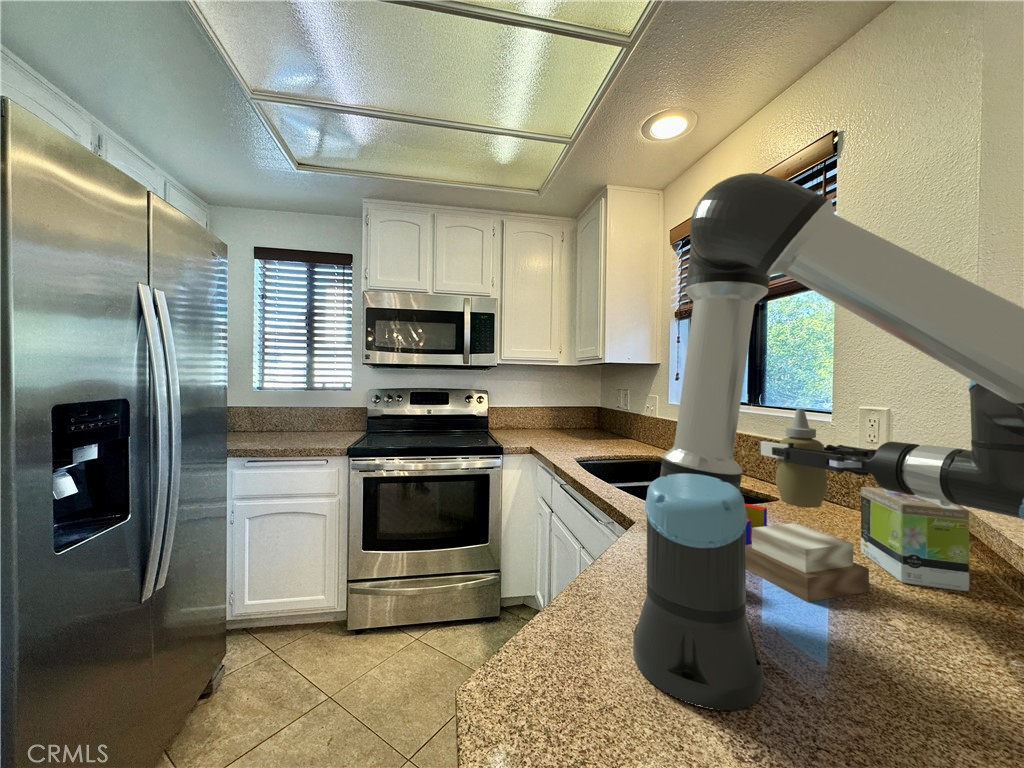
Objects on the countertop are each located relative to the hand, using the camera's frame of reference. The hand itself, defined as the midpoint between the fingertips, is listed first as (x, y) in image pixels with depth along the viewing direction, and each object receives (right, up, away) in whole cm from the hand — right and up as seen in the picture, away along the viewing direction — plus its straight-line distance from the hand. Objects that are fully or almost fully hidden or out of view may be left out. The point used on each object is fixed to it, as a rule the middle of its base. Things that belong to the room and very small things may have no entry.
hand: (776, 447), depth 80 cm
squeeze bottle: (+1, -10, -5) cm, 11 cm away
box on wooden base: (+1, -24, -5) cm, 24 cm away
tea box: (+25, -24, -2) cm, 35 cm away
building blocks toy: (-6, -25, +16) cm, 30 cm away
